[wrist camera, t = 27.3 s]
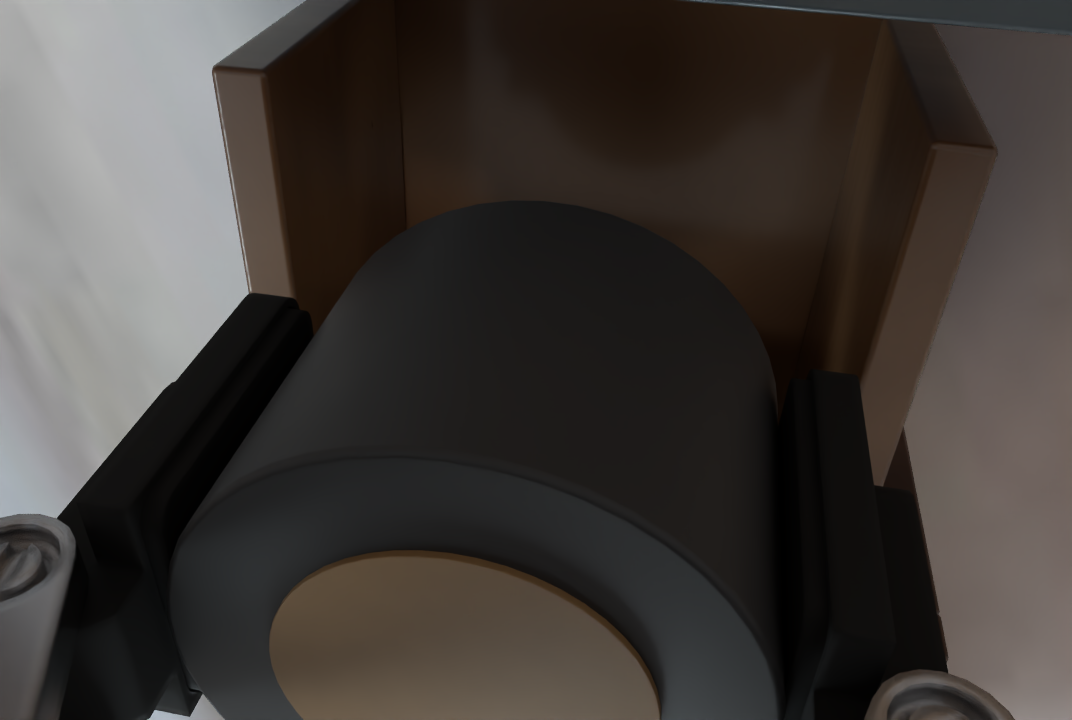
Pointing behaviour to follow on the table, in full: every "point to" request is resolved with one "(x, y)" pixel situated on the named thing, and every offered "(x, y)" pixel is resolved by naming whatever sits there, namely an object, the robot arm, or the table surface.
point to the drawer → (639, 151)
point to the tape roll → (502, 493)
